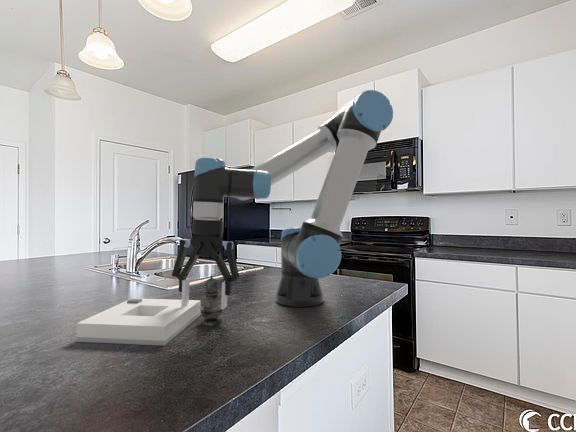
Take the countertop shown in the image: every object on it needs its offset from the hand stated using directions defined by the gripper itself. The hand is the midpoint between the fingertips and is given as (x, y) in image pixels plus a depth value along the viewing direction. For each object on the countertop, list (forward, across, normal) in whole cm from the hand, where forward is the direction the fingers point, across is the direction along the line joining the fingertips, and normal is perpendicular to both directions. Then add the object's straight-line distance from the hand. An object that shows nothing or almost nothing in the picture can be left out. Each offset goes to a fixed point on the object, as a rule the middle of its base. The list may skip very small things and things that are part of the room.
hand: (204, 306), depth 80 cm
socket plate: (+5, +13, +5) cm, 14 cm away
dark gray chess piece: (+4, -2, 0) cm, 5 cm away
